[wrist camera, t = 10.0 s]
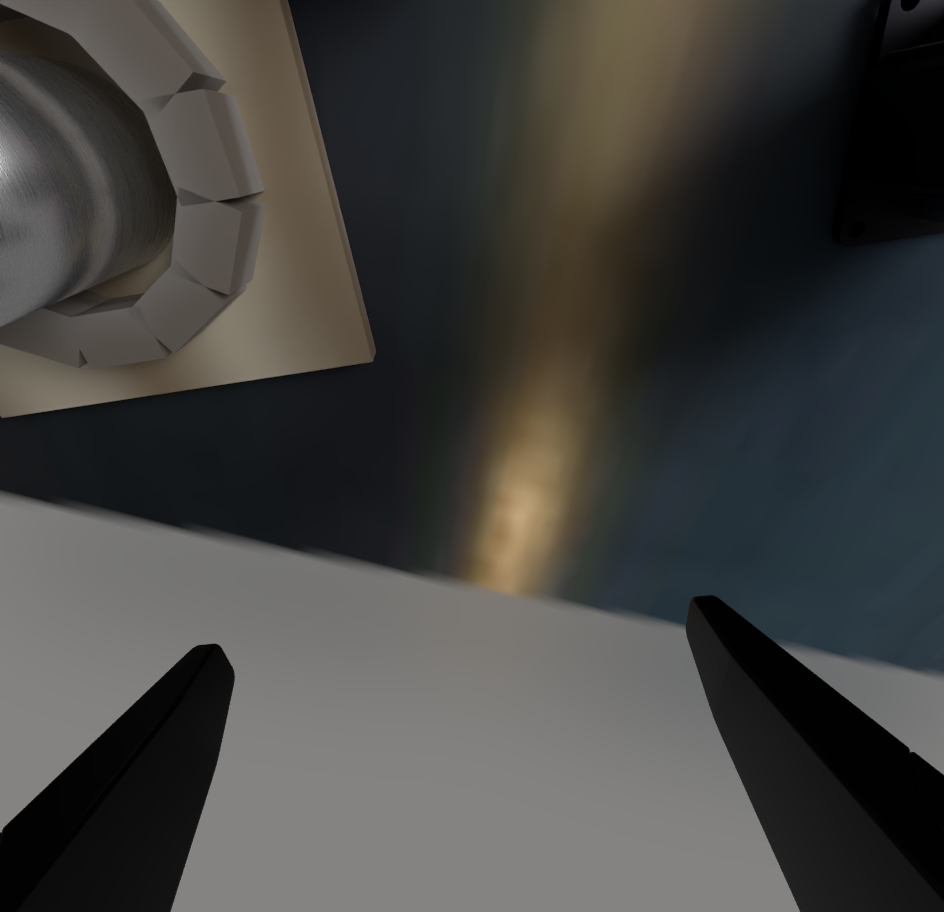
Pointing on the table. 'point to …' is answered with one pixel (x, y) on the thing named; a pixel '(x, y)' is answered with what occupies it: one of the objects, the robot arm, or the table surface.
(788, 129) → the table surface
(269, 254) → the mount
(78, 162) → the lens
